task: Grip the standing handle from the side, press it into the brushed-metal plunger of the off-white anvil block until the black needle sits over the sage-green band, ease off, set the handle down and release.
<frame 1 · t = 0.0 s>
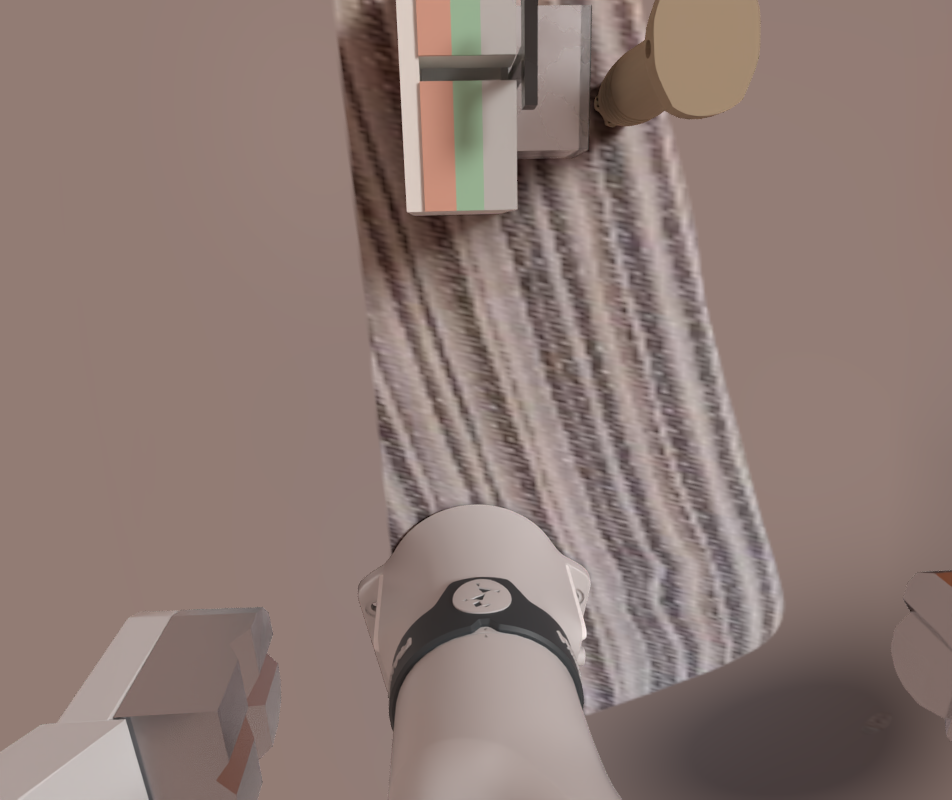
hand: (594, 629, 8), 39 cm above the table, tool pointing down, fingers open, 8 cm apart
anvil housing: (453, 105, 42), on the table
handle: (615, 103, 43), on the table
press pad: (553, 74, 34), point 9 cm above the table, slide at 0.0 cm
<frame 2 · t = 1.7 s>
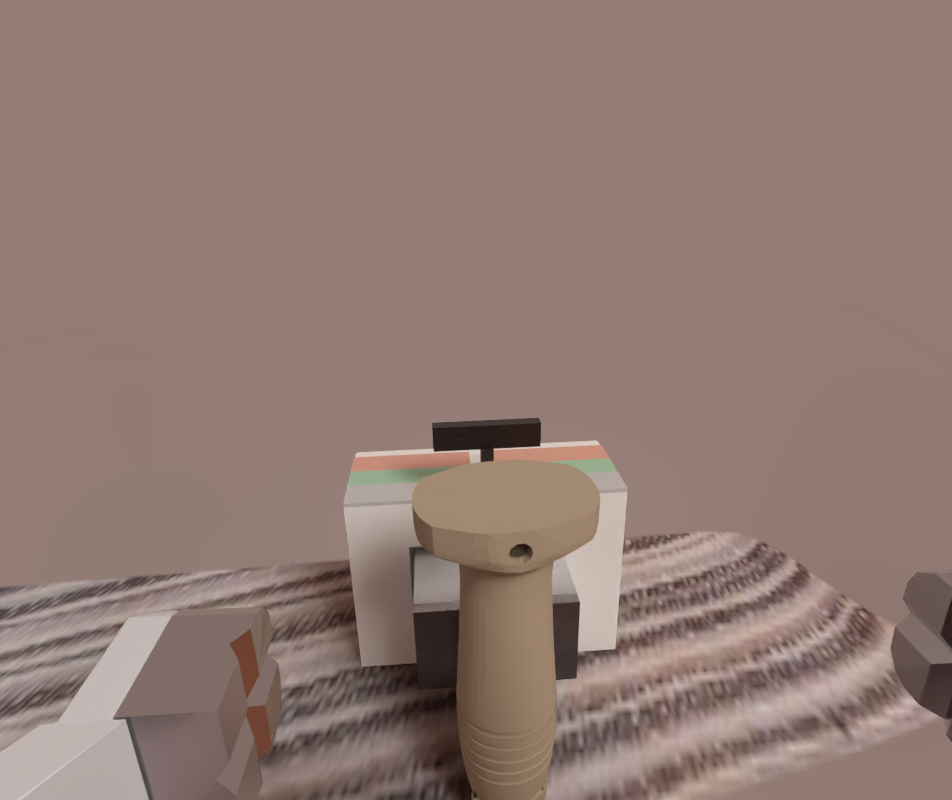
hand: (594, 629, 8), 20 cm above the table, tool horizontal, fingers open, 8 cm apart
anvil housing: (485, 620, 37), on the table
handle: (506, 799, 27), on the table
press pad: (491, 551, 29), point 9 cm above the table, slide at 0.0 cm
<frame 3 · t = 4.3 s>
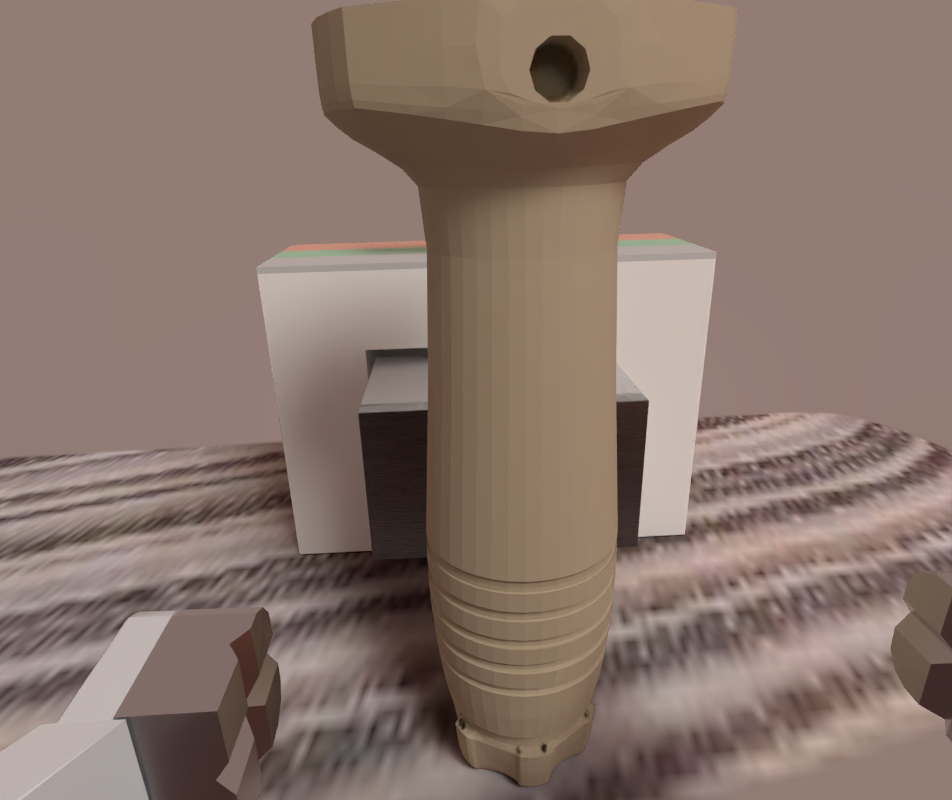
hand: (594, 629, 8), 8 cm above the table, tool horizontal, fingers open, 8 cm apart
anvil housing: (488, 501, 26), on the table
handle: (520, 739, 15), on the table
press pad: (496, 333, 18), point 9 cm above the table, slide at 0.0 cm
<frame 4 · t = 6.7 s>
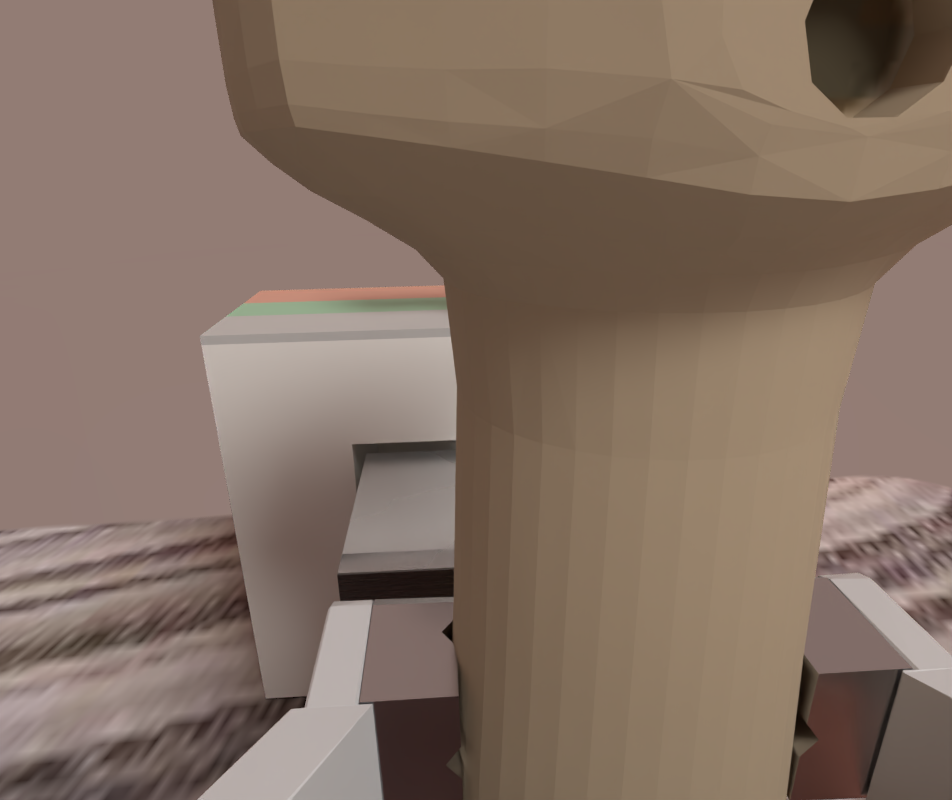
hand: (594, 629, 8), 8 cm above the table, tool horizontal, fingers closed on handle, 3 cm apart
anvil housing: (509, 610, 20), on the table
press pad: (537, 437, 12), point 8 cm above the table, slide at 0.0 cm
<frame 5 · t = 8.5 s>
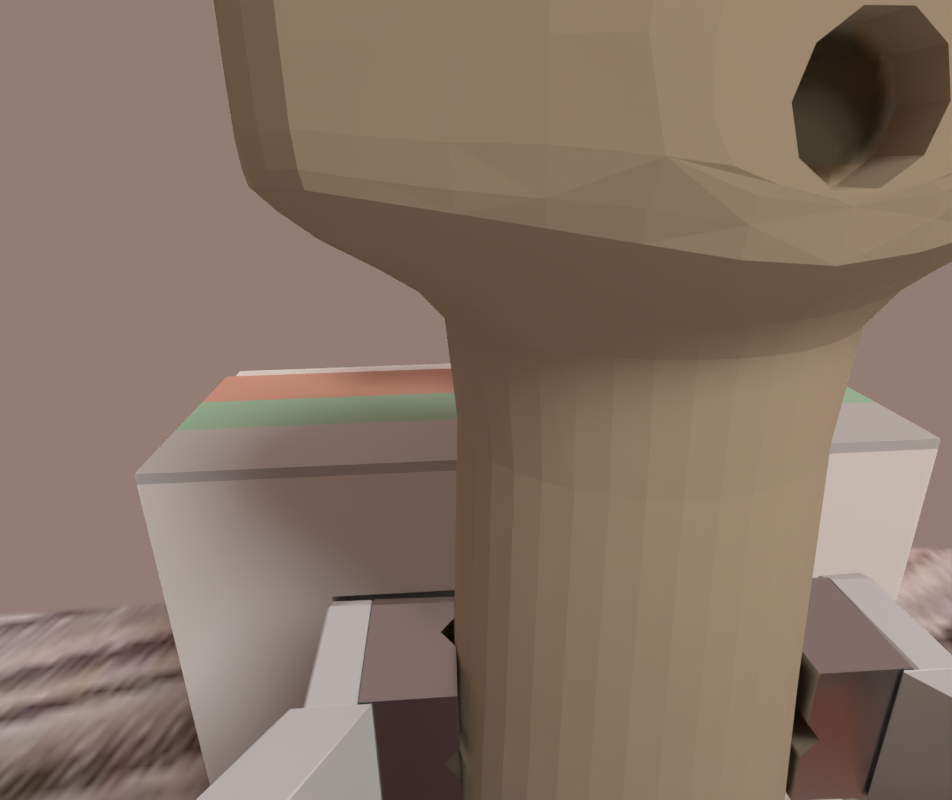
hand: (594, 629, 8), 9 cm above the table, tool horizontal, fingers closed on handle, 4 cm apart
anvil housing: (522, 740, 17), on the table
press pad: (548, 541, 11), point 9 cm above the table, slide at 2.2 cm, touching handle
when the fingers open (8 cm above the table, at t = 10.4 s): handle stays where it is, on the table.
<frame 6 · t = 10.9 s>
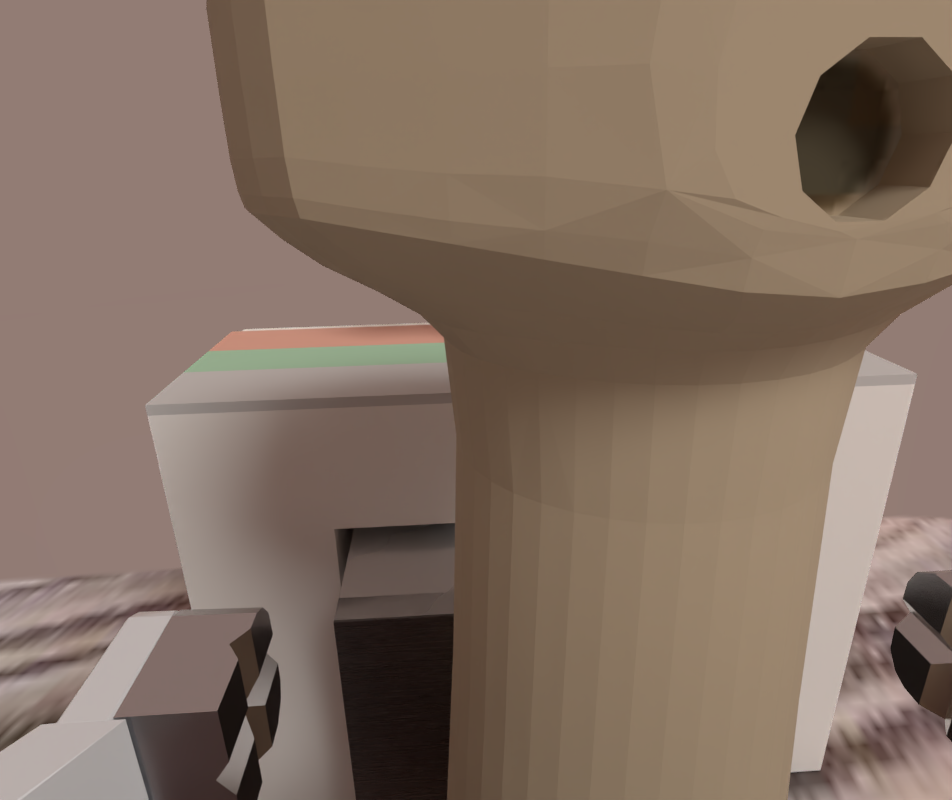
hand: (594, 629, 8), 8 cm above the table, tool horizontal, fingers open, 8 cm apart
anvil housing: (519, 691, 18), on the table
press pad: (540, 472, 12), point 9 cm above the table, slide at 2.3 cm
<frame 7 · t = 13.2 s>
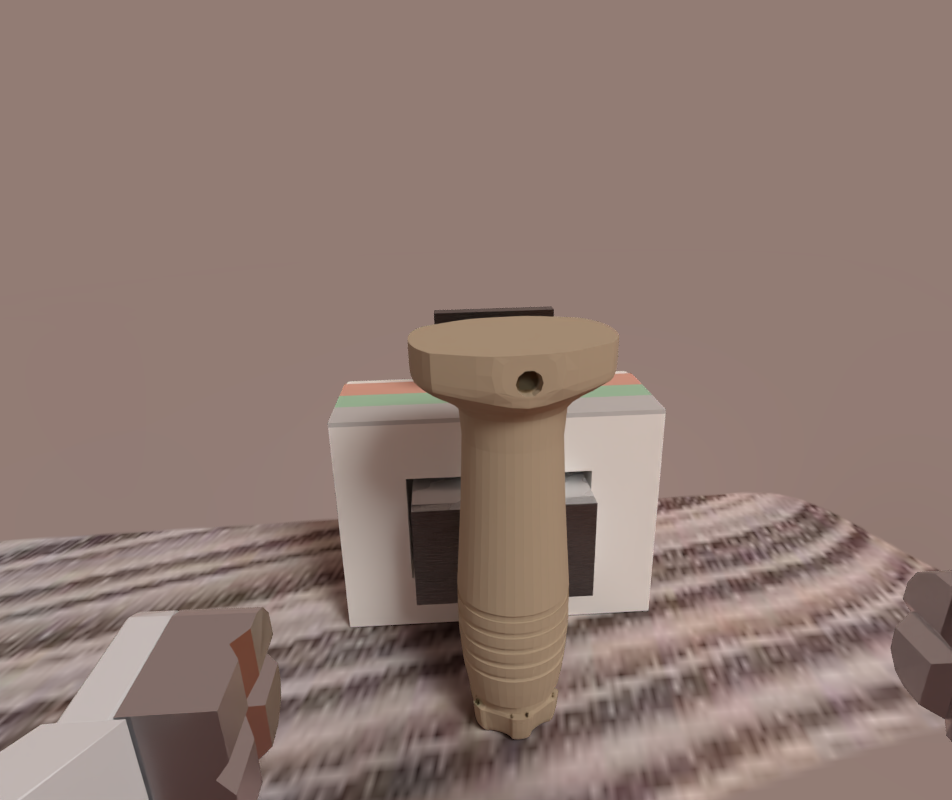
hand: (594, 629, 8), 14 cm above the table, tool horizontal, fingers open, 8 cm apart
anvil housing: (495, 579, 32), on the table
handle: (513, 713, 25), on the table
press pad: (499, 453, 27), point 8 cm above the table, slide at 2.3 cm
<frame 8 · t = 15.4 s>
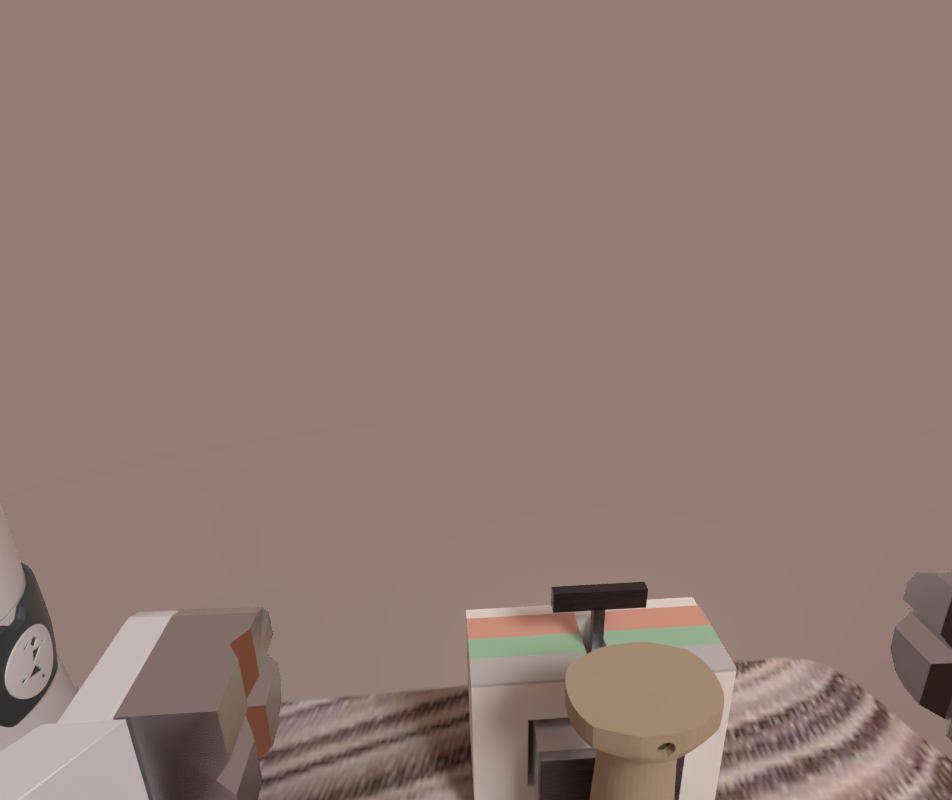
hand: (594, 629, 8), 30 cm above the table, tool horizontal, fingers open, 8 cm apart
anvil housing: (584, 765, 39), on the table
press pad: (603, 700, 33), point 8 cm above the table, slide at 2.3 cm
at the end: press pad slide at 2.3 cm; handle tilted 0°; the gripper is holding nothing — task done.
